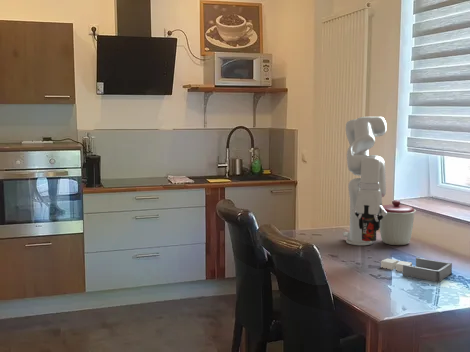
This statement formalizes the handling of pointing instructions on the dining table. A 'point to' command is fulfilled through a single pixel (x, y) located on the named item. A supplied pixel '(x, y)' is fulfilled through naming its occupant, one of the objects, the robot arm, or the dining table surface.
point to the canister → (397, 224)
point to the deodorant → (368, 226)
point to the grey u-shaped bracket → (428, 269)
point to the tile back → (389, 263)
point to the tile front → (400, 265)
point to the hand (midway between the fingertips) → (369, 229)
